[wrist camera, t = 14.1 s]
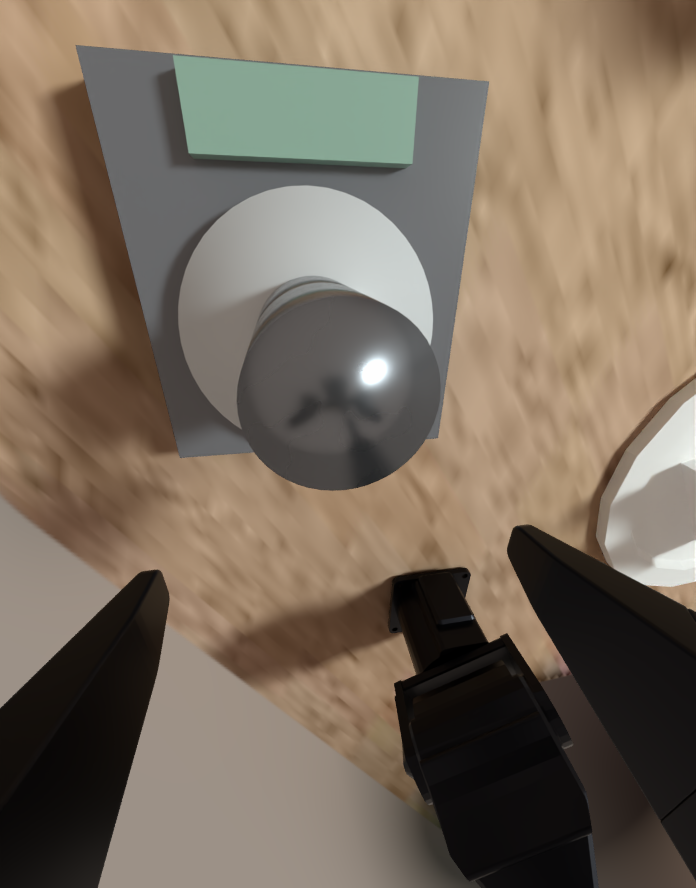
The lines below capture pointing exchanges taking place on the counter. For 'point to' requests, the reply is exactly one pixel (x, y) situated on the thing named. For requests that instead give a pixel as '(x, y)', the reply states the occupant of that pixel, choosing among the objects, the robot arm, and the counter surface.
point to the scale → (278, 204)
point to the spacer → (336, 388)
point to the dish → (655, 499)
